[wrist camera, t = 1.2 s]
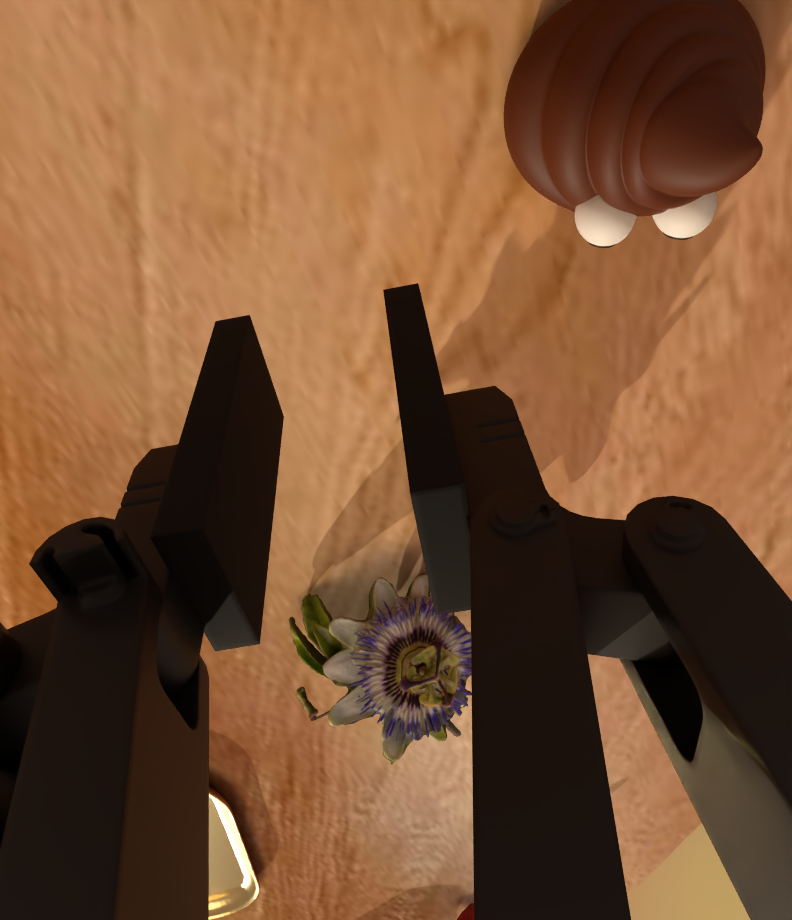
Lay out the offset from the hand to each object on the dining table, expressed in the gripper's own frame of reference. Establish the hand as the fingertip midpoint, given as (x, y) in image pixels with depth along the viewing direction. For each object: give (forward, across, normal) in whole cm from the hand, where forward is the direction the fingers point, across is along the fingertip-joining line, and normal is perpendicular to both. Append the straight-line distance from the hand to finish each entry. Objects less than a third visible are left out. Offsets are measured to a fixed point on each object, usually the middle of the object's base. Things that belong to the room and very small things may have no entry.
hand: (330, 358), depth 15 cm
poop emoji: (+17, +12, 0) cm, 21 cm away
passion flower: (+17, -3, -30) cm, 34 cm away
